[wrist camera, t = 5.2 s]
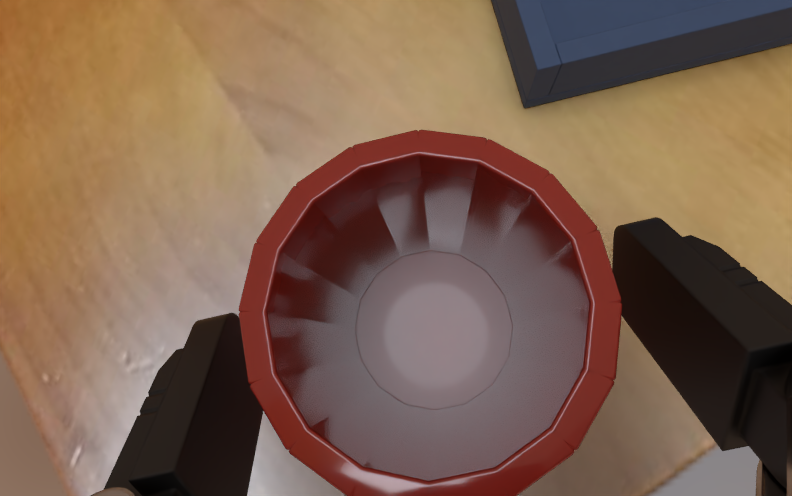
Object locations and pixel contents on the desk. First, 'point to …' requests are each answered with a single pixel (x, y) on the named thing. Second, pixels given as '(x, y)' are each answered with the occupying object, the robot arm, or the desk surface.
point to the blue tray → (628, 39)
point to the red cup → (430, 319)
